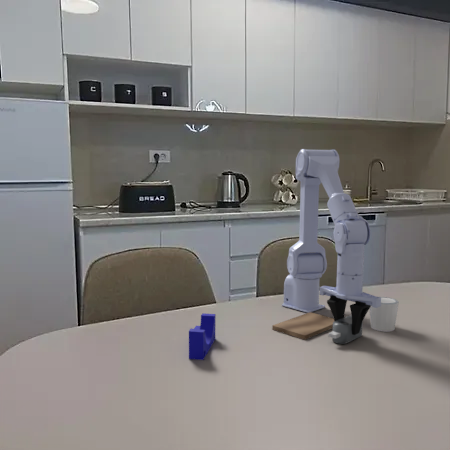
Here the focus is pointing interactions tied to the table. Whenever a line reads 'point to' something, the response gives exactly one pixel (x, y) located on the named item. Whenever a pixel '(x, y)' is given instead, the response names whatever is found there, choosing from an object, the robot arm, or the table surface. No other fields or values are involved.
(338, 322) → the connector plug
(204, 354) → the cable clip
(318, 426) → the table surface
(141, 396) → the table surface
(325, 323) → the walnut board
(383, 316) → the white cup
